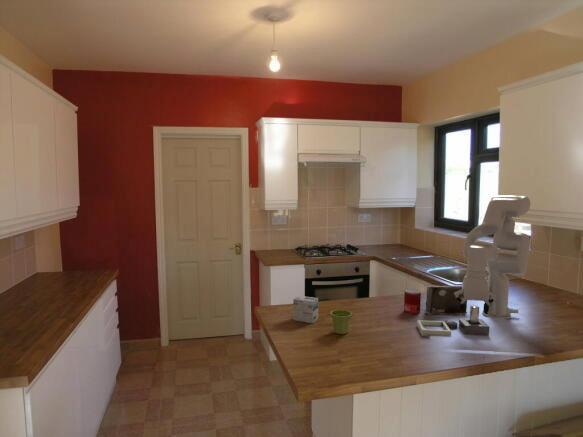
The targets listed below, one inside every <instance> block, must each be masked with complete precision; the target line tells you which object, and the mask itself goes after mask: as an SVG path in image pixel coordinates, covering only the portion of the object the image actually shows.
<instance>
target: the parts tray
mask: <svg viewBox="0 0 583 437" xmlns="http://www.w3.org/2000/svg"><path fill="white" fill-rule="evenodd" d="M441 323H443V327H442V326H441ZM416 326H417V328H418V331H419V333H420V334H421V336H422V337H431V335H440V336H442V335H443V336H452V331H451V330H452V329H449V327H448V326H447V325H446V323H445V322H444V320H439V321H438V320H424V319H423V320H420V319H417V320H416ZM426 326H440V327H442V328H443V329H430V328H429V329H427V327H426Z"/></svg>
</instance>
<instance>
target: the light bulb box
mask: <svg viewBox="0 0 583 437" xmlns="http://www.w3.org/2000/svg"><path fill="white" fill-rule="evenodd" d="M292 299H293V300H292V303H293V304H292V314H293V315H292V316H293V317H292V320H293V321H297V322H303V323H308V324H314V323H316V322H317V320H319V297H313V296H311V297H310V296H304V295H297V296H296V297H294V298H292Z"/></svg>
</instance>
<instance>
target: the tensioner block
mask: <svg viewBox="0 0 583 437" xmlns="http://www.w3.org/2000/svg"><path fill="white" fill-rule="evenodd" d="M469 320H470V318H460V317H459V318H458V329H459V330H460V331H461V333H462V334H464V336H467V335H468V336H488V337H489V336H490V326H489V325H488V324H487V322H485V320H484V319H482V318H479V321H478V325H477V324H469Z"/></svg>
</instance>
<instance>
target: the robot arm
mask: <svg viewBox="0 0 583 437" xmlns="http://www.w3.org/2000/svg"><path fill="white" fill-rule="evenodd" d="M530 208H531V199H530V198H529V197H528V196H525V195H511V194H509V195H504V194H501V195H494V196H492V197H491V199H490V201H489V202H488V205H487V207H486V210H485V214H484V215H483V220H482V222H481V223H480V224H479V225H477V226H475V227H473V229H472V230H471V231H469V233H468V234H467V235H466V237H465V240H464V243H463V247H462V256H463V257H464V258H466V259H467V261H466V263H467V264H466V275H465V276H463V281H462V285H461V286H462V290H459V291H457V292H454V295H455V297H456V299H457V300H458V301H459V302H460V310H461V312H462V313H463V314H465V313H464V308H465V304H464V302H465V301H466V300H467V301H477V302H478V301H479V302H484V303H483V310H482V314H483V316H485V317H486V318H487V317H488V318H497V319H498V318H499V319H504V320H508V319H511V317H512V314H519V309H516V308H512V307H509V295H510V294H509V292H510V281H509V278H508V276H507V275H506V274H509V275H517V276H523V275H524V274H525V273H527V269H528V264H529V257H530V248H531V239H530V236H529V235H528V234H527V233H523V232H515V226H516V221H515V220H514V218H520V217H522V216H524V215H525V214H527V213H528V212H529V210H531V209H530ZM491 235H493V240H492V244H488V243H478V242H477V241H478V240H479V239H481V238H483V237H484V238H485V237H487V236H491ZM499 251H504V252H499ZM505 252H513V253H516V254H511V253H505ZM459 294H461V296H462V298H461V299H460V298H459V296H458V295H459Z"/></svg>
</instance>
